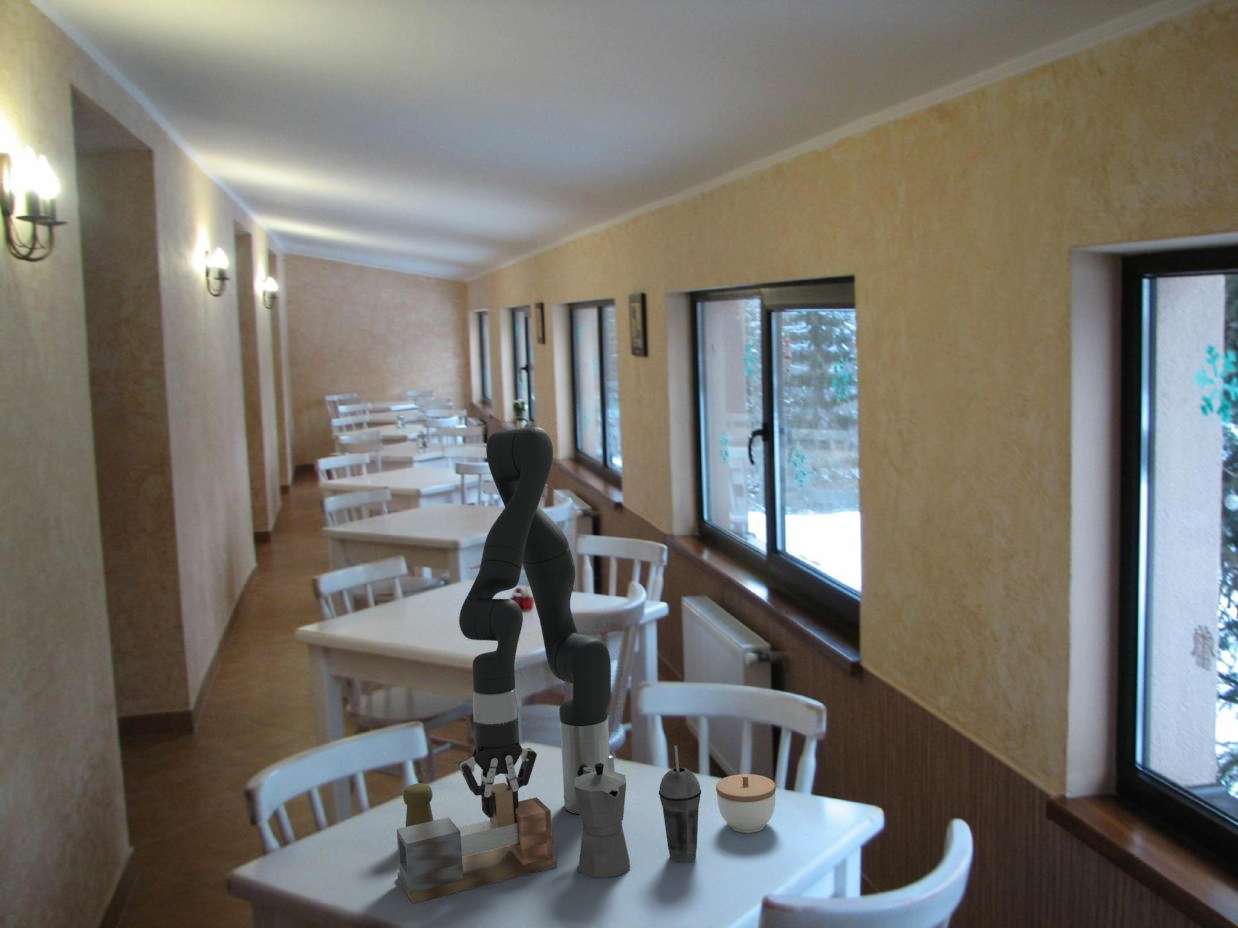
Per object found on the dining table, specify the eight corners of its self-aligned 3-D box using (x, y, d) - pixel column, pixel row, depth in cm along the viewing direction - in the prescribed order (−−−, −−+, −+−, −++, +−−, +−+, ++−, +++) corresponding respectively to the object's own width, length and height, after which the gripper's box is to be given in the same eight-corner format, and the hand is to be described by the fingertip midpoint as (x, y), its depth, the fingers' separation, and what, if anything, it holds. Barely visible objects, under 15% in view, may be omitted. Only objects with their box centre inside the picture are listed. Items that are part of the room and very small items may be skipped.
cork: (431, 852, 197) (426, 792, 196) (399, 851, 198) (394, 791, 197) (443, 837, 202) (439, 779, 201) (411, 836, 204) (407, 778, 203)
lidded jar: (750, 808, 208) (748, 760, 208) (789, 827, 200) (787, 776, 199) (705, 824, 203) (703, 774, 202) (744, 843, 194) (741, 792, 193)
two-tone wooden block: (533, 829, 194) (529, 776, 193) (541, 838, 190) (538, 784, 189) (440, 851, 187) (436, 796, 186) (447, 860, 183) (443, 804, 182)
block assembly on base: (536, 844, 198) (533, 793, 197) (557, 866, 189) (554, 813, 188) (397, 878, 187) (394, 825, 186) (413, 903, 178) (409, 847, 177)
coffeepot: (646, 875, 184) (641, 770, 182) (594, 888, 180) (588, 781, 178) (608, 840, 198) (603, 742, 196) (559, 852, 194) (553, 752, 192)
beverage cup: (708, 849, 192) (703, 737, 190) (698, 868, 185) (692, 752, 183) (668, 845, 194) (663, 735, 193) (656, 864, 188) (650, 749, 186)
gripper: (527, 702, 194) (531, 798, 195) (449, 715, 188) (454, 814, 189) (542, 713, 187) (547, 812, 189) (462, 728, 181) (467, 830, 183)
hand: (500, 812), depth 189 cm, fingers open, 3 cm apart
